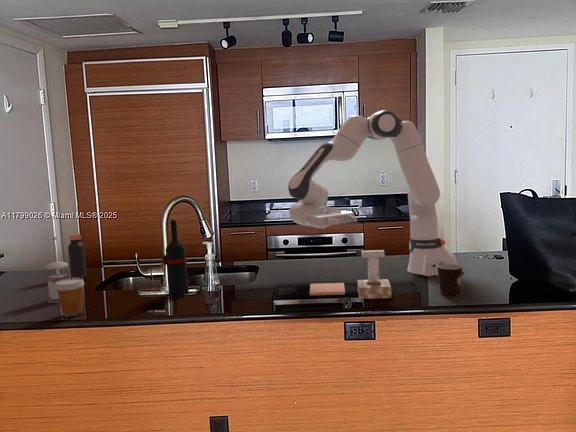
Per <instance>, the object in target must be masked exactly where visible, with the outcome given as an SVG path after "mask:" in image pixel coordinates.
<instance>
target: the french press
mask: <svg viewBox="0 0 576 432" xmlns="http://www.w3.org/2000/svg"><path fill="white" fill-rule="evenodd" d="M51 240H52V241H53V242H54V244H56V240H58V237H56V236H52V237H51ZM56 247H57V246H54V249H55V252H54V253H55V254H57V248H56ZM55 259H56V260H55V261H54V262H50V263H48V264H47V265H46V266H45V269H46V270H47V269H48V270H57V273H56V274H51V275H49V276H48V280H47V286H48V287H47V288H48V296H49V299H50V297H51V299H59V296H58V292H57V289H56V288H55V286H56V283H57V282H58V281H61V280H65V279H71V272H70V268H69V267H68V266H70V263H68V262H65V261H60V260H59V261H58V258H57V255H55ZM59 269H60V270H61V271H64V273H59ZM66 269H67V270H68V273H67V271H66ZM68 276H69V277H68Z"/></svg>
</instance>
